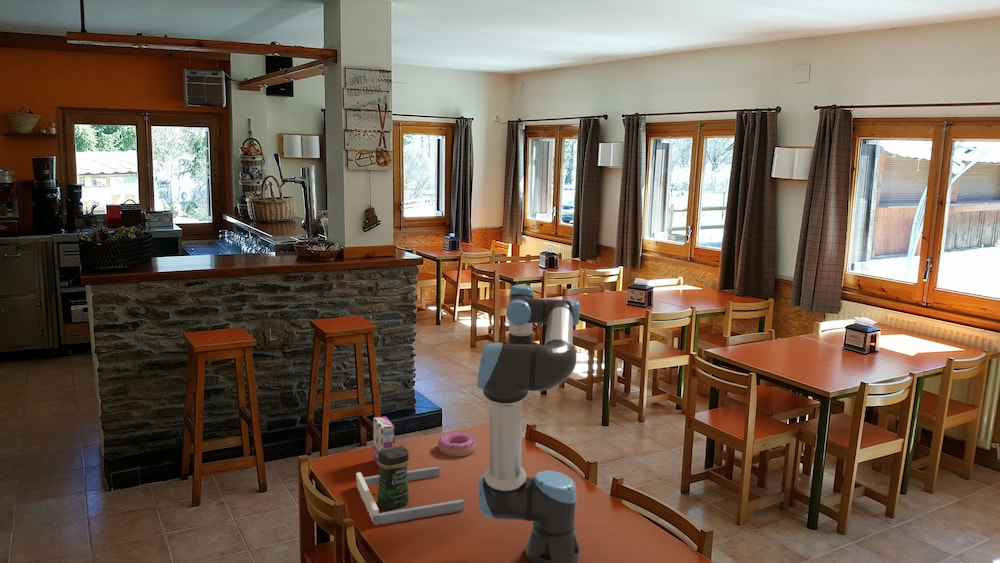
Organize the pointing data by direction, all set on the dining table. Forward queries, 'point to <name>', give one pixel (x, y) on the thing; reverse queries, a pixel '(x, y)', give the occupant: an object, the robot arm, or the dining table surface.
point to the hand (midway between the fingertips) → (518, 396)
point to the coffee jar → (393, 477)
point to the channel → (409, 512)
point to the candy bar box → (382, 436)
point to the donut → (457, 444)
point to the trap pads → (396, 509)
